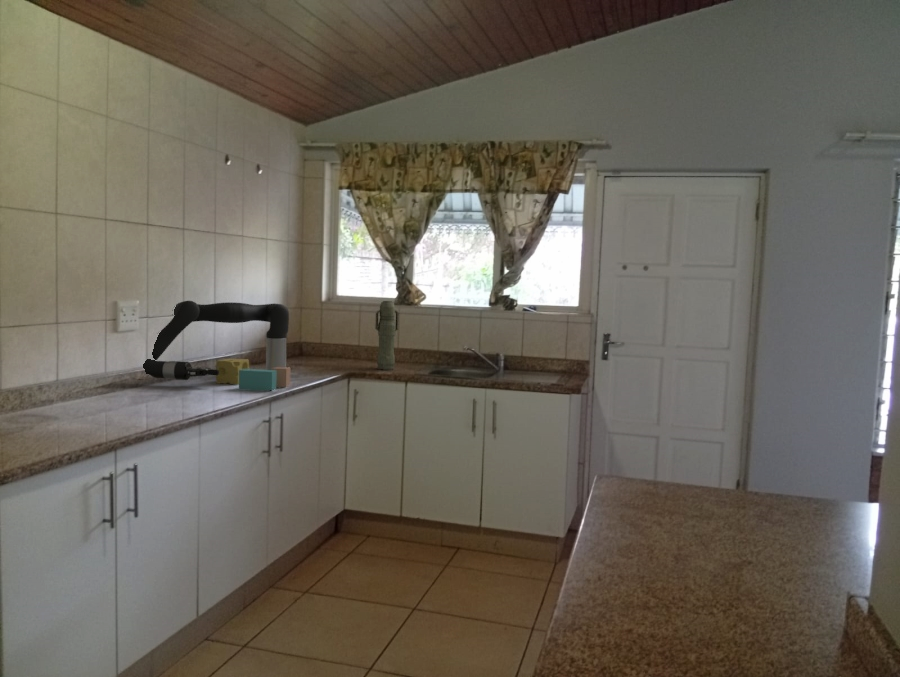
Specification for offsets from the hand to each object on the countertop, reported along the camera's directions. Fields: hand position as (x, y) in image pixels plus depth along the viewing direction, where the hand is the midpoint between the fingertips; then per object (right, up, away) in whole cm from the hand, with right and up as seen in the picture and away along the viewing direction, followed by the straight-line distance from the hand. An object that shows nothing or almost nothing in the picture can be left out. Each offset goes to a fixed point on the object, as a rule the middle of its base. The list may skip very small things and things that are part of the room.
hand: (218, 372), depth 292 cm
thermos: (+62, -2, +77) cm, 99 cm away
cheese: (+1, -5, +16) cm, 17 cm away
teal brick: (+16, -7, 0) cm, 17 cm away
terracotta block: (+24, -6, +9) cm, 26 cm away
